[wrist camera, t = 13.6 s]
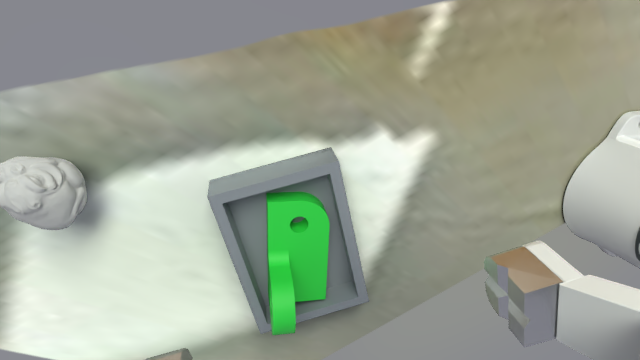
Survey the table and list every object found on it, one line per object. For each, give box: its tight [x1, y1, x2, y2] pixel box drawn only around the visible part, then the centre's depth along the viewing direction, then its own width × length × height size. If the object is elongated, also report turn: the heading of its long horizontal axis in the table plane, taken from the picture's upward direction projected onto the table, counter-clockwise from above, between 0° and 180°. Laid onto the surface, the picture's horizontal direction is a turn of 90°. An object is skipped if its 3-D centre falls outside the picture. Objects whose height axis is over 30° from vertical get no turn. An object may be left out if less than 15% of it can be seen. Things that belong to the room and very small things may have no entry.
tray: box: [207, 147, 369, 334], centre depth 43 cm, size 12×17×4 cm
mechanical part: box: [266, 192, 330, 335], centre depth 40 cm, size 12×6×8 cm, turn 178°
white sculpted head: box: [0, 156, 87, 230], centre depth 34 cm, size 6×7×7 cm
